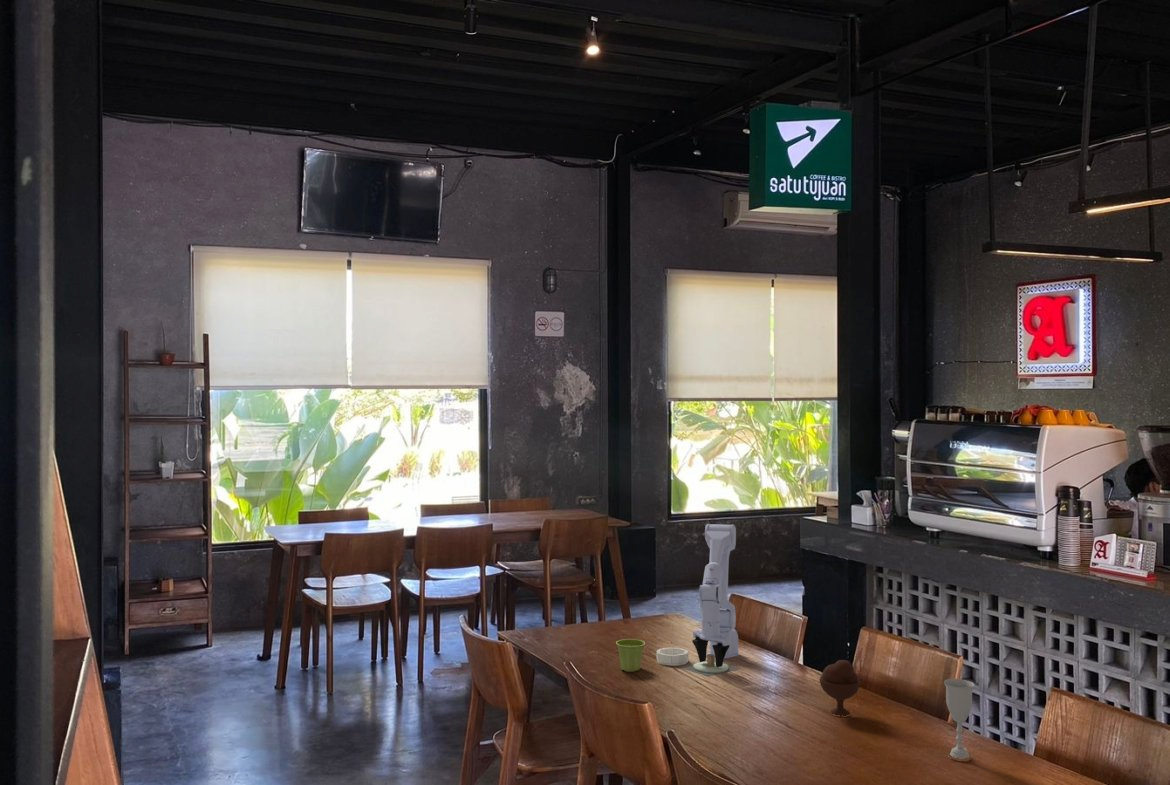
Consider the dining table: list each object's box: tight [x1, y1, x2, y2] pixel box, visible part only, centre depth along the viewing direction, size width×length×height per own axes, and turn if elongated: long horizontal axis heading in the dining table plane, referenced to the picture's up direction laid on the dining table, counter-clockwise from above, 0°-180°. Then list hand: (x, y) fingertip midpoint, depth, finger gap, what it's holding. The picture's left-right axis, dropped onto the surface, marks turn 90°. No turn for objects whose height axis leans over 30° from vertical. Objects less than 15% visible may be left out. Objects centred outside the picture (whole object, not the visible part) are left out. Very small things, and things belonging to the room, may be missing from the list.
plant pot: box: [615, 638, 646, 673], centre depth 318 cm, size 9×9×9 cm
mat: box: [682, 661, 740, 677], centre depth 317 cm, size 14×12×1 cm
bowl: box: [655, 647, 689, 667], centre depth 326 cm, size 10×10×4 cm
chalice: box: [943, 678, 975, 759], centre depth 238 cm, size 7×7×18 cm
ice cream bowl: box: [819, 659, 861, 716], centre depth 272 cm, size 11×11×15 cm
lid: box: [693, 654, 729, 674], centre depth 317 cm, size 11×11×4 cm
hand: (710, 663), depth 317 cm, fingers open, 7 cm apart
